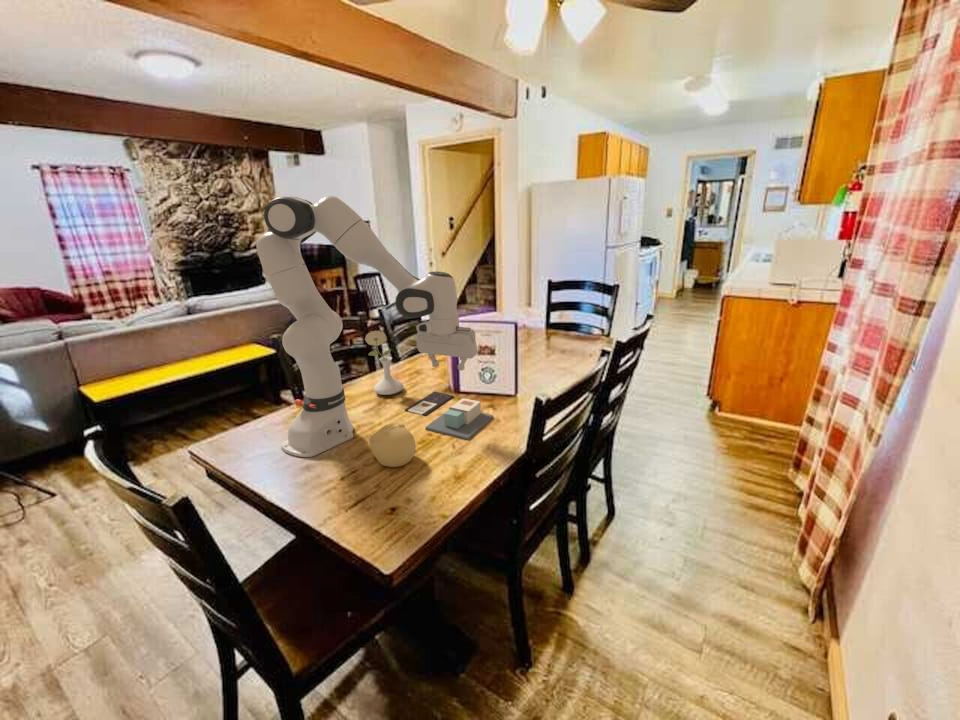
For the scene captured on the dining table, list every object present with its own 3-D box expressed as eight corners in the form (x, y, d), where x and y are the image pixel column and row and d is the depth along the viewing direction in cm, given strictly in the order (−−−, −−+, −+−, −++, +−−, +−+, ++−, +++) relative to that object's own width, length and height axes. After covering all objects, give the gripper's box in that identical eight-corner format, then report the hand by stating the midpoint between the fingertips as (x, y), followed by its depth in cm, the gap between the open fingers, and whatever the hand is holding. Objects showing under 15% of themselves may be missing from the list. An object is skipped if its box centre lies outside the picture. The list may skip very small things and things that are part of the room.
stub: (457, 428, 139) (457, 416, 138) (444, 425, 142) (444, 413, 140) (464, 423, 143) (463, 411, 141) (451, 420, 145) (450, 408, 143)
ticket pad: (468, 440, 135) (467, 424, 133) (425, 429, 142) (424, 414, 140) (493, 417, 149) (492, 403, 147) (453, 408, 156) (452, 395, 154)
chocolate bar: (453, 395, 166) (425, 414, 151) (453, 397, 166) (425, 417, 151) (434, 391, 170) (404, 409, 155) (434, 393, 170) (405, 412, 156)
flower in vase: (406, 386, 177) (401, 326, 169) (399, 397, 166) (393, 334, 158) (375, 385, 178) (368, 326, 170) (366, 397, 168) (358, 334, 159)
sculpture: (397, 445, 133) (393, 413, 129) (424, 458, 125) (421, 425, 122) (366, 462, 124) (361, 428, 121) (393, 477, 117) (389, 441, 114)
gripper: (479, 325, 131) (482, 368, 136) (423, 320, 140) (427, 361, 145) (469, 330, 126) (472, 375, 130) (411, 325, 135) (416, 367, 140)
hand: (448, 368), depth 138 cm, fingers open, 8 cm apart
